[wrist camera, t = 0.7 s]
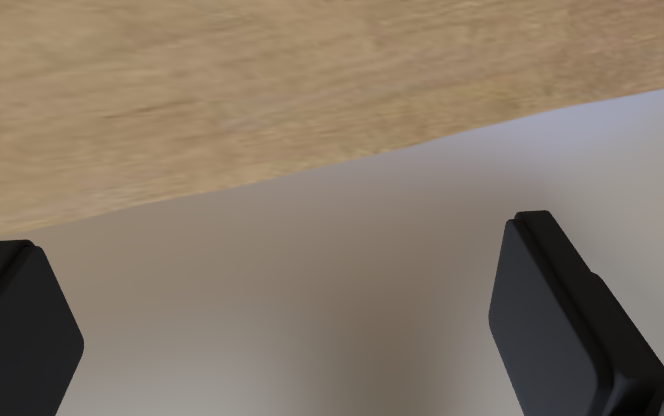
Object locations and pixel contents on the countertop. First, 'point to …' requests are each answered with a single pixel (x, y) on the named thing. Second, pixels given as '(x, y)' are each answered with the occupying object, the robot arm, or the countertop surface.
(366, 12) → the countertop surface
